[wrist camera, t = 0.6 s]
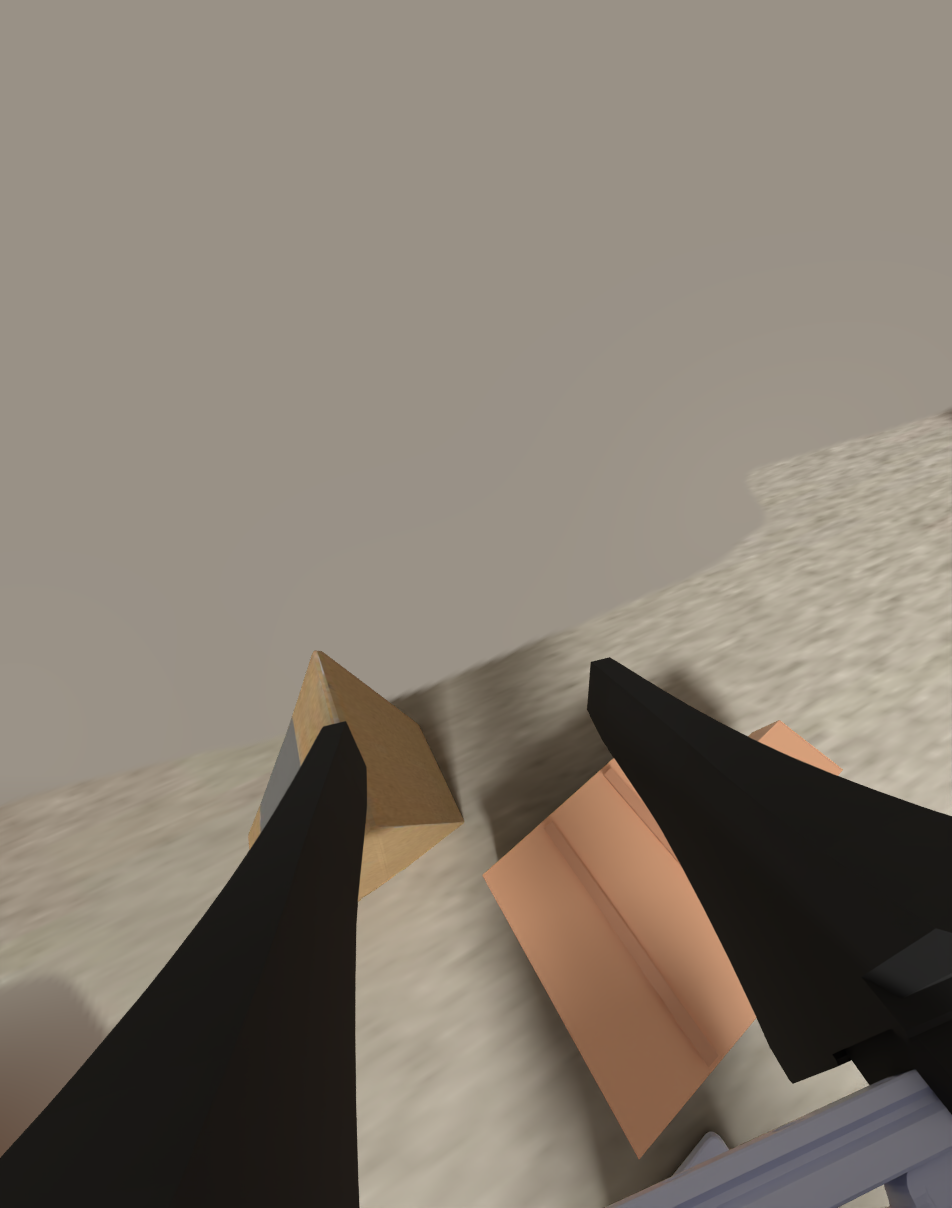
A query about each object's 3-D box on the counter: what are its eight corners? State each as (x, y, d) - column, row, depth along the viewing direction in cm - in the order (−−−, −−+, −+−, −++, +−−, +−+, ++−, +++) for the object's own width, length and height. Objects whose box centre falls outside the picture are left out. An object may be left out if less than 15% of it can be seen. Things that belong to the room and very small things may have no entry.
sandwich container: (246, 830, 27) (-20, 837, 14) (417, 720, 29) (315, 642, 16) (264, 968, 22) (-107, 1155, 10) (467, 825, 24) (376, 828, 12)
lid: (887, 844, 17) (943, 848, 15) (635, 1145, 14) (653, 1215, 12) (695, 685, 23) (713, 668, 20) (484, 873, 20) (474, 880, 17)
